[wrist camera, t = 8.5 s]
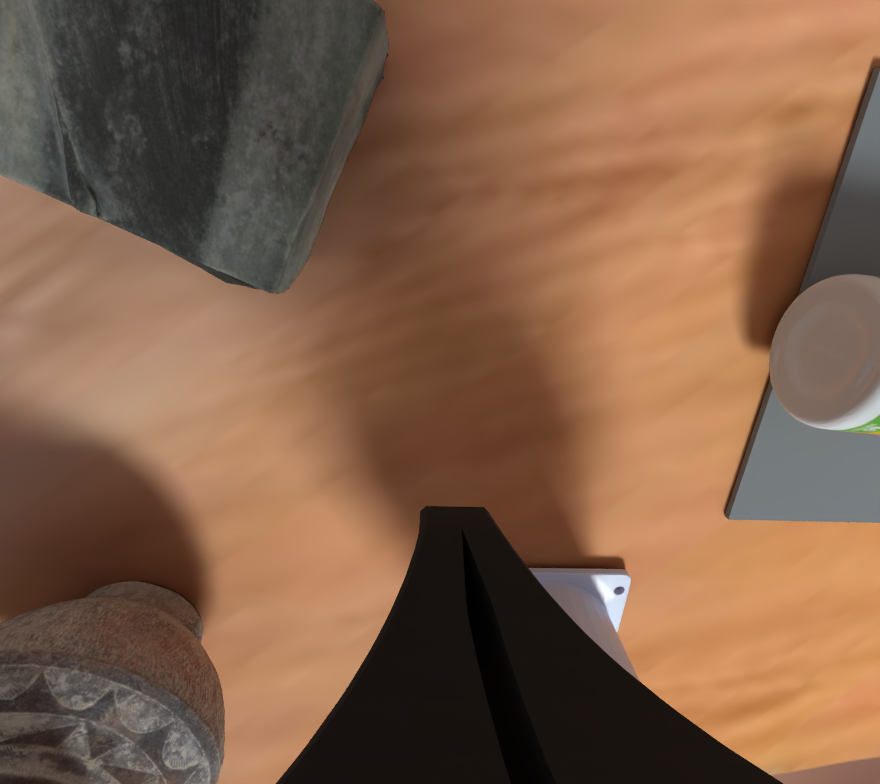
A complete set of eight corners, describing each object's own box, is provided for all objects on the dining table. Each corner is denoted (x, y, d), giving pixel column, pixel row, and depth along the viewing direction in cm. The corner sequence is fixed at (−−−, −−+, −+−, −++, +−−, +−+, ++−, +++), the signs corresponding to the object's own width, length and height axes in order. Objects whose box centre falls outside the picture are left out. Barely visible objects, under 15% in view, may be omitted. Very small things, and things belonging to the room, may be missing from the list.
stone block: (296, 301, 20) (260, 343, 15) (-140, 109, 16) (-368, 82, 12) (393, 52, 17) (387, 3, 12) (-116, -241, 13) (-407, -473, 9)
